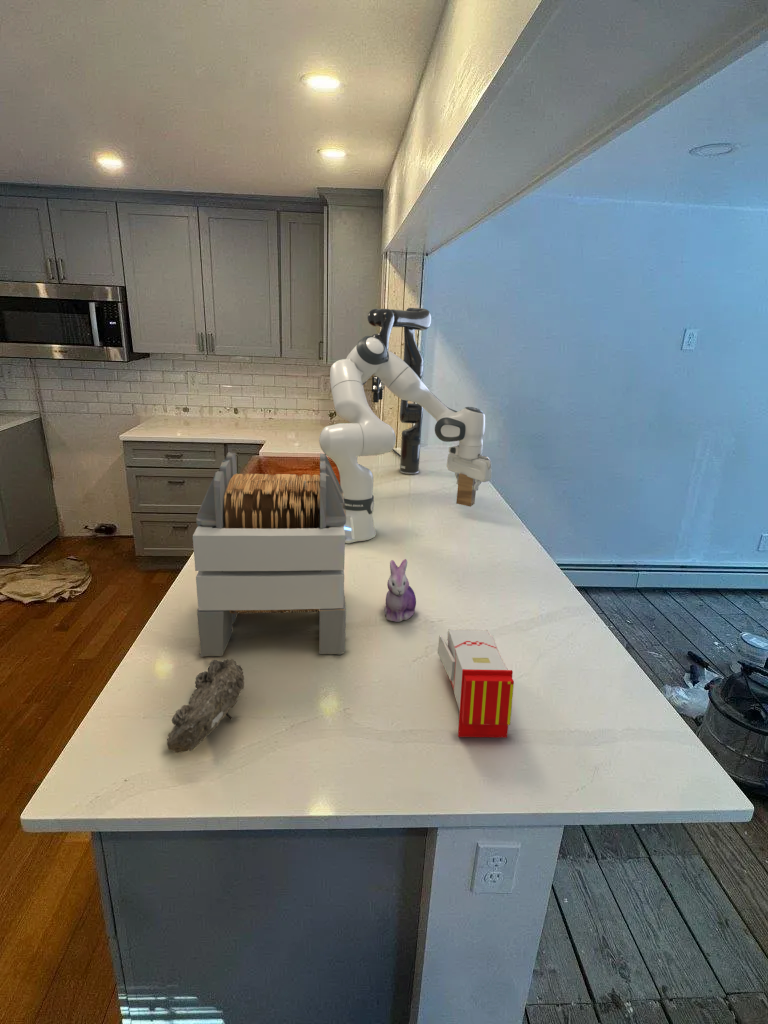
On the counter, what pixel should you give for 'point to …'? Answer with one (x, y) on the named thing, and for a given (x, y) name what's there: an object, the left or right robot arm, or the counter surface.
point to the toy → (478, 682)
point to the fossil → (206, 705)
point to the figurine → (399, 594)
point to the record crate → (270, 552)
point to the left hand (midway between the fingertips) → (466, 487)
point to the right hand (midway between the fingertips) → (377, 400)
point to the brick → (465, 490)
